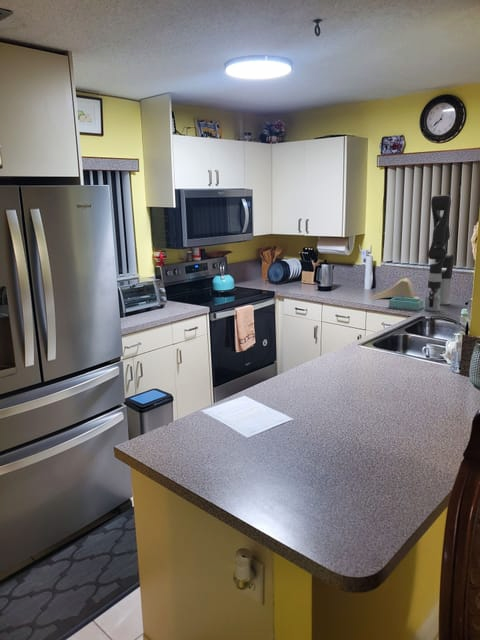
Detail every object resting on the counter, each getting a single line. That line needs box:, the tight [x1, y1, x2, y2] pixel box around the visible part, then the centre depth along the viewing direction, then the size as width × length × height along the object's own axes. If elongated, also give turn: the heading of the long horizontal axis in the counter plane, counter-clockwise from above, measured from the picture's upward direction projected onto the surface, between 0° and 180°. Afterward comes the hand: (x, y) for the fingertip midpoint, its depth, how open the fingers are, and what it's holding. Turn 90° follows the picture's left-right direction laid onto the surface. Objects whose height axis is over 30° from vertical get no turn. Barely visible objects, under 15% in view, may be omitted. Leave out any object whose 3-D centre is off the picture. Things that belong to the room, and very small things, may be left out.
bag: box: [368, 277, 420, 300], centre depth 347 cm, size 19×17×35 cm
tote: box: [388, 296, 425, 312], centre depth 314 cm, size 15×18×5 cm
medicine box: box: [424, 295, 441, 312], centre depth 305 cm, size 8×4×9 cm, turn 48°
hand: (432, 306), depth 306 cm, fingers open, 8 cm apart
